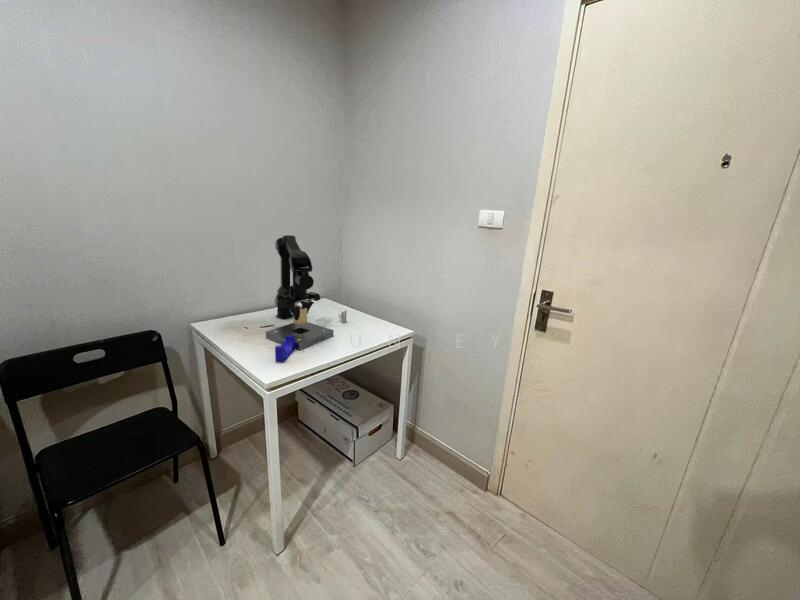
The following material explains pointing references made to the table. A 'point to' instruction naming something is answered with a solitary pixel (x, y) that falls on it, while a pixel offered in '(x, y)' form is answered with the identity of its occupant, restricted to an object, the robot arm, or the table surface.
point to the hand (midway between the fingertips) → (300, 318)
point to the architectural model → (342, 317)
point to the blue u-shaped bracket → (285, 349)
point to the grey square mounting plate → (300, 334)
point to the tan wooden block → (301, 317)
